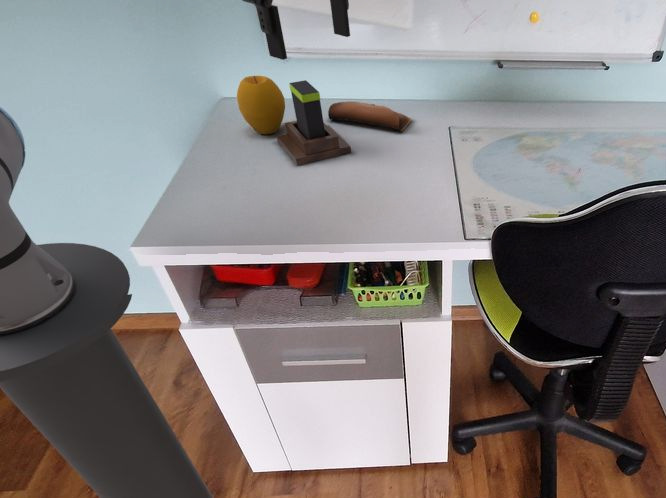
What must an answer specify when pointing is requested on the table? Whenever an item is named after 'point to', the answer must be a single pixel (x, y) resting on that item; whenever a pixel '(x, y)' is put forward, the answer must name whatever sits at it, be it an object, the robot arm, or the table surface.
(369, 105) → the sunglasses case
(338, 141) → the pad base
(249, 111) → the apple
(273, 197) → the table surface
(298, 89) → the back pad
